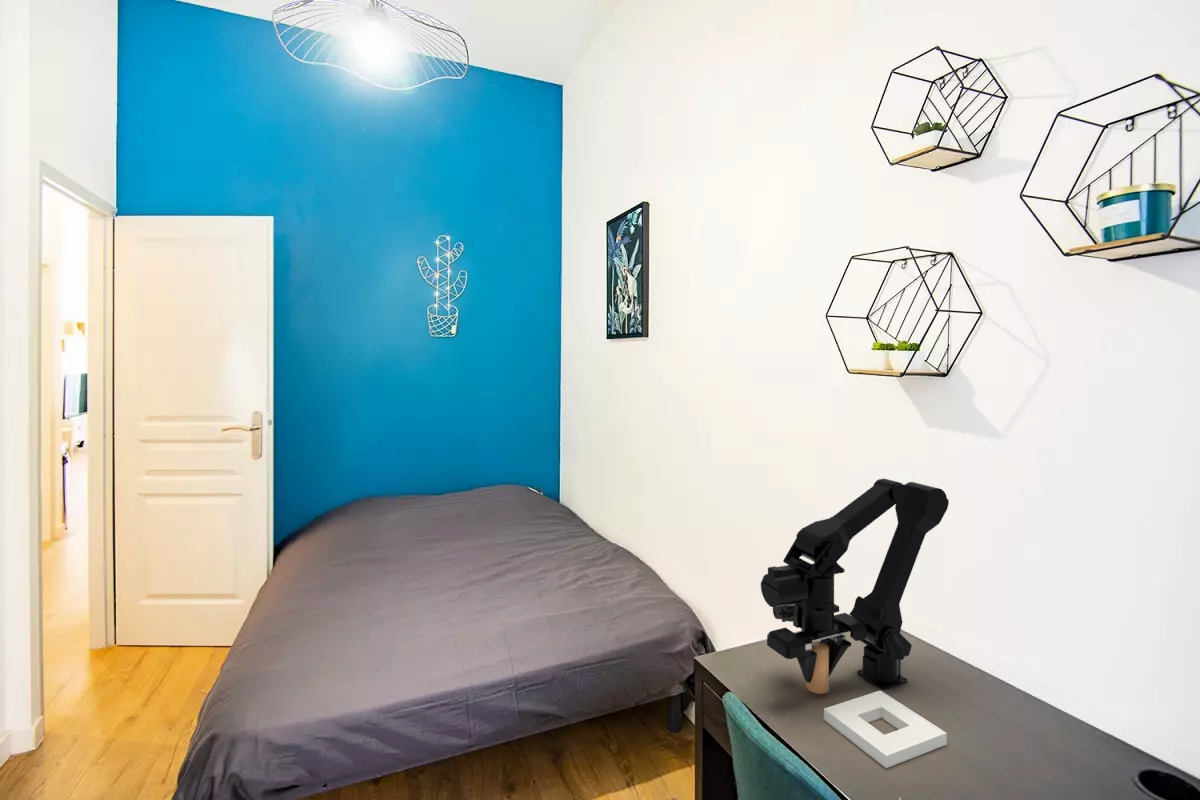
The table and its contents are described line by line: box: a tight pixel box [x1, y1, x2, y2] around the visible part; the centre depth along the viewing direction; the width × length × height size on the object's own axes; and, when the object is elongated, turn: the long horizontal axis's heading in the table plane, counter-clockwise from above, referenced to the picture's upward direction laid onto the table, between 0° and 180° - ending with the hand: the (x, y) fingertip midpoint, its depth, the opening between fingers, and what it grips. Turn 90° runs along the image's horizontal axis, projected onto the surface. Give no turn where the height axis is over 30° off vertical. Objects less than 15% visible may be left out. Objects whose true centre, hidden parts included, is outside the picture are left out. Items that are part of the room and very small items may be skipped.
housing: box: [823, 690, 948, 769], centre depth 98 cm, size 13×13×2 cm
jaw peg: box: [805, 640, 830, 695], centre depth 108 cm, size 4×4×8 cm
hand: (817, 678), depth 109 cm, fingers closed on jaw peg, 4 cm apart
